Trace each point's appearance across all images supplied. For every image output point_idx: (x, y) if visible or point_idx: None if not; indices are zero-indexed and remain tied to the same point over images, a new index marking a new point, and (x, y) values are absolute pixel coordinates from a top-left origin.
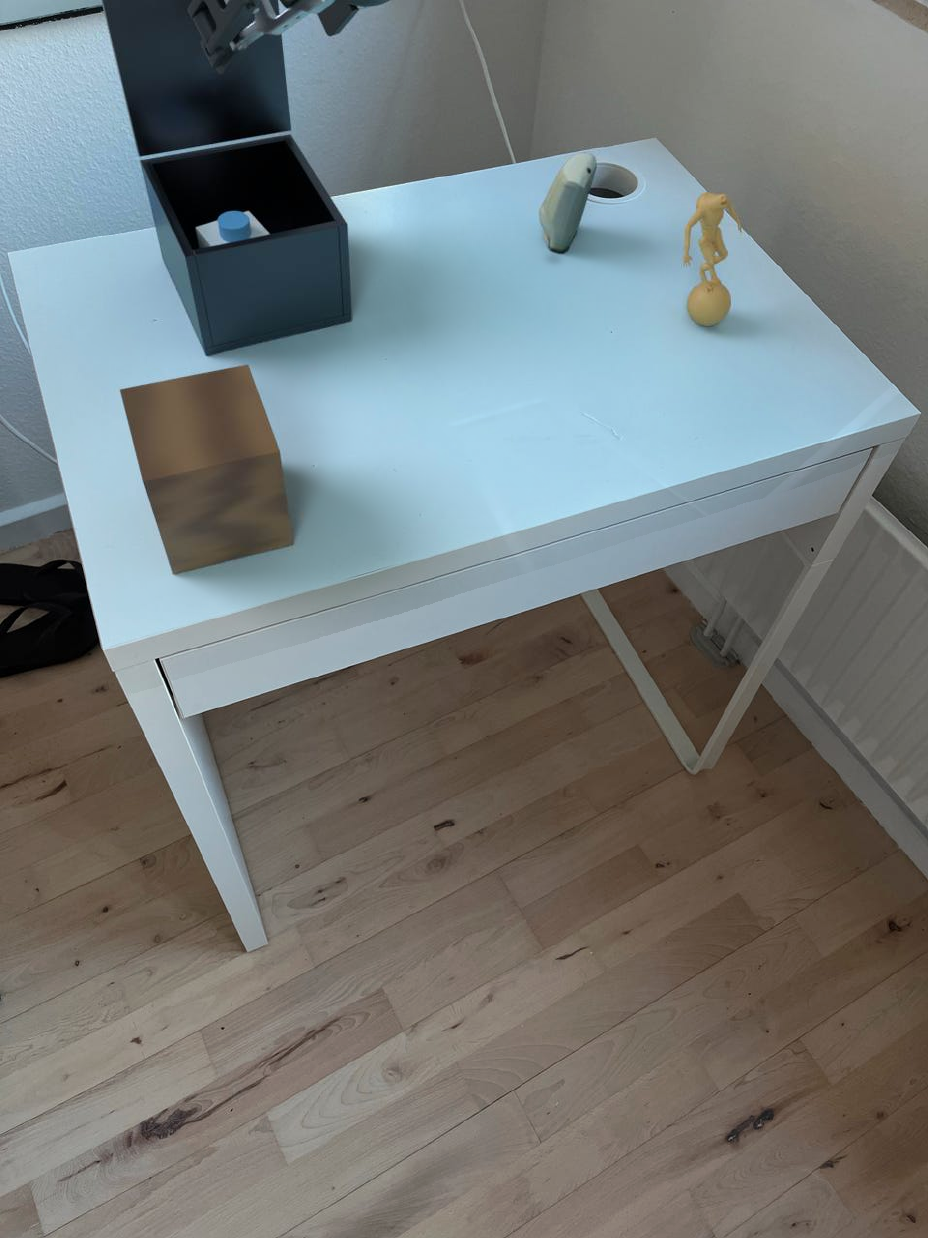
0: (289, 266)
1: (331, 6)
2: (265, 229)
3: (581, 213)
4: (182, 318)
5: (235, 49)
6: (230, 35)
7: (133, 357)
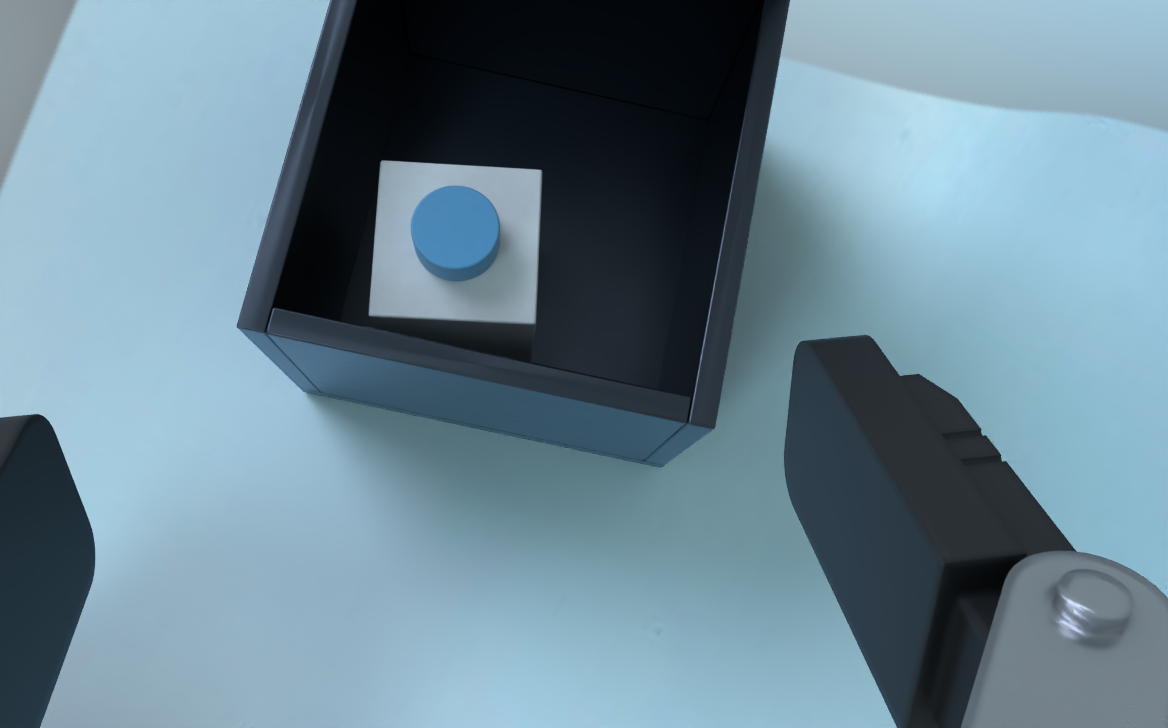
0: (527, 407)
1: (845, 510)
2: (536, 265)
3: None
4: None
5: None
6: None
7: (162, 307)
